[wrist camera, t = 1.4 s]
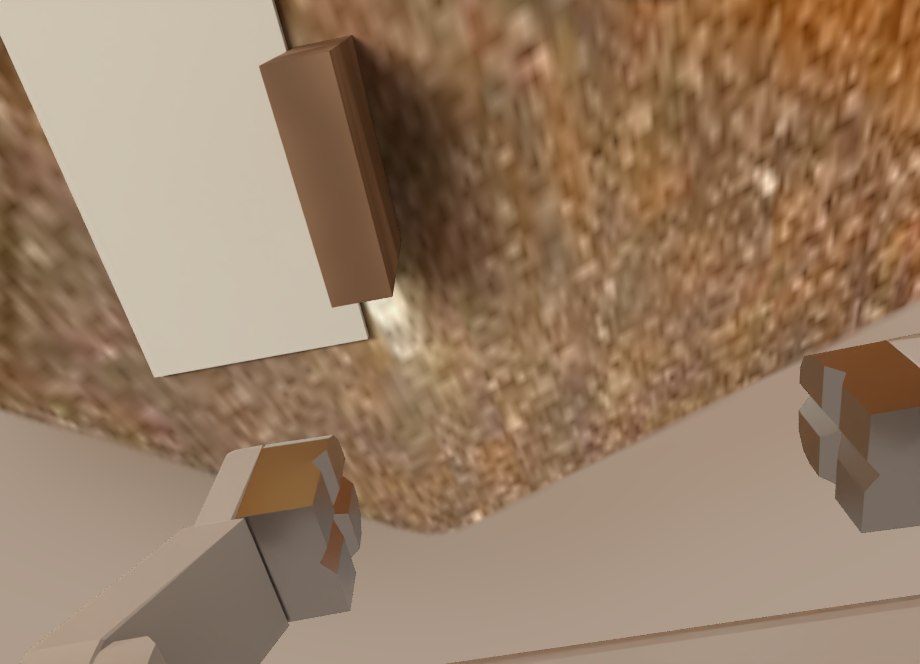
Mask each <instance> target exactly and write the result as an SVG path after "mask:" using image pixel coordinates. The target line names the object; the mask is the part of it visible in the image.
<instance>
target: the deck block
mask: <svg viewBox="0 0 920 664" xmlns="http://www.w3.org/2000/svg"><path fill="white" fill-rule="evenodd" d="M259 68H260V72H261V75H262V78H263V82H264V85H265V88H266V92H267V95H268V98H269V102H270V105H271V108H272V111H273V115H274V118H275V121H276V125H277V128H278V131H279V135H280V138H281V141H282V144H283V148H284V151H285V154H286V158H287V161H288V164H289V168H290V171H291V174H292V177H293V181H294V184H295V187H296V191H297V194H298V197H299V201H300V204H301V207H302V211H303V214H304V217H305V220H306V224H307V227H308V230H309V234H310V237H311V240H312V244H313V247H314V250H315V253H316V257H317V260H318V263H319V267H320V270H321V273H322V277H323V280H324V283H325V286H326V290H327V293H328V296H329V300H330V303H331V306H332V308H334V307H339V306H344V305H350V304H355V303H361V302H366V301H371V300H377V299H382V298H388V297H392V296H393V290H394V284H395V277H396V271H397V265H398V259H399V253H400V246H401V236H400V232H399V228H398V224H397V219H396V215H395V211H394V207H393V203H392V199H391V195H390V191H389V186H388V182H387V178H386V174H385V170H384V166H383V162H382V158H381V153H380V149H379V145H378V141H377V137H376V133H375V129H374V125H373V120H372V116H371V112H370V108H369V104H368V100H367V96H366V92H365V87H364V83H363V79H362V75H361V71H360V67H359V63H358V59H357V54H356V50H355V46H354V42H353V38H352V35H350V36H345V37H341V38H336V39H331V40H326V41H322V42H317V43H312V44H308V45H303V46H298V47H294V48H292V49H291V50H289V51H287V52H285V53H283V54H281V55H279V56H277V57H275V58H273V59H271V60H269V61H267V62H265V63H263V64H262V65H260V66H259Z"/></svg>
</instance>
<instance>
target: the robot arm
mask: <svg viewBox="0 0 920 664" xmlns="http://www.w3.org/2000/svg"><path fill="white" fill-rule="evenodd" d="M800 384H801V385H802V386H803V388H804V389H805V390H806V391H807V392H808V394H809V395H810V397H809V398H808V399H807V400H806V402H805V403H804V404H803V406H802V407H801V408H800V410H799V433H800V438H801V442H802V446H803V450H804V452H805V454H806V457H807V459H808V461H809V463H810V464H811V466H812V467H813V469H814V470H815V471H816V473H817V474H818V476H820V477H822V478H824V479H826V480H829V481H831V482H833V483H835V484H836V490H835V499H836V500H837V501H838V503H839V504H840V505H841V507H842V508H843V509H844V511H845V512H846V513H847V515H848V516H849V517H850V519H851V520H852V521H853V523H854V524H855V525H856V526H857V528H858V529H859V531H860V532H861V533H866V532H874V531H881V530H889V529H897V528H905V527H913V526H920V334H914V335H909V336H904V337H899V338H894V339H889V340H884V341H880V342H876V343H871V344H866V345H861V346H856V347H850V348H845V349H839V350H834V351H829V352H824V353H819V354H813V355H808V356H804V358H803V361H802V364H801V367H800ZM344 463H345V457H344V454H343V451H342V448H341V446H340V443H339V440H338V439H337V438H336V437H335V436H334V435H329V436H322V437H315V438H309V439H302V440H295V441H288V442H282V443H275V444H268V445H266V446H265V445H260V446H255V447H249V448H244V449H238V450H233V451H232V452H230V453H228V454H227V455H226V457H225V459H224V461H223V464H222V466H221V468H220V470H219V472H218V474H217V477H216V479H215V481H214V484H213V485H212V488H211V490H210V492H209V494H208V496H207V499H206V501H205V503H204V505H203V507H202V510H201V512H200V514H199V516H198V518H197V520H196V523H195V525H194V526H192V527H186V528H183V529H181V530H180V531H179V532H178V533H176V534H175V535H174V536H172V537H171V538H170V539H169V540H167V541H166V542H165V543H164V544H162V545H161V546H160V547H159V548H157V549H156V550H155V551H153V552H152V553H151V554H150V555H148V557H146V558H145V559H143V560H142V561H141V562H139V563H138V564H137V565H136V566H135V567H133V568H132V569H131V570H129V571H128V572H127V573H126V574H125V575H123V576H122V577H121V578H119V579H118V580H117V581H116V582H114V583H113V584H112V585H110V586H109V587H108V588H107V589H105V590H104V591H103V592H102V593H100V594H99V595H98V596H97V597H95V598H94V599H93V600H91V601H90V602H89V603H88V604H86V605H85V606H84V607H83V608H81V609H80V610H79V611H77V612H76V613H75V614H74V615H73V616H71V617H70V618H69V619H67V620H66V621H65V622H64V623H62V624H61V625H60V626H59V627H57V628H56V629H55V630H54V631H52V632H51V633H50V634H48V635H47V636H46V637H45V638H43V639H42V640H41V641H40V642H39V643H37V644H36V645H35V646H33V647H32V648H31V649H30V650H28V651H27V652H26V654H25V655H24V657H23V659H22V660H21V662H20V663H19V664H260V663H261V662H262V660H263V659H264V658H265V656H266V655H267V654H268V653H269V651H270V650H271V648H272V647H273V646H274V645H275V643H276V642H277V641H278V639H279V638H280V637H281V635H282V634H283V633H284V631H285V630H286V629H287V628H288V626H289V624H288V622H292V621H297V620H303V619H308V618H314V617H319V616H324V615H330V614H335V613H341V612H347V611H350V608H351V602H352V596H353V589H354V583H355V576H356V571H355V568H354V565H353V562H352V559H351V557H352V556H353V555H354V554H355V553H356V552H357V551H358V550H359V548H360V541H361V513H360V508H359V503H358V498H357V494H356V491H355V488H354V485H353V483H352V482H350V481H349V480H348V479H346V478H345V477H343V476H342V473H343V468H344ZM448 664H920V595H913V596H907V597H900V598H893V599H886V600H879V601H872V602H865V603H858V604H851V605H845V606H838V607H831V608H824V609H817V610H810V611H803V612H796V613H789V614H783V615H776V616H769V617H762V618H755V619H749V620H741V621H735V622H728V623H721V624H715V625H708V626H701V627H694V628H687V629H680V630H674V631H667V632H660V633H653V634H647V635H641V636H633V637H627V638H620V639H613V640H606V641H599V642H593V643H586V644H579V645H572V646H566V647H559V648H551V649H545V650H538V651H531V652H524V653H517V654H510V655H504V656H497V657H490V658H483V659H476V660H469V661H463V662H455V663H448Z"/></svg>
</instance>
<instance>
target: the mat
mask: <svg viewBox="0 0 920 664" xmlns="http://www.w3.org/2000/svg"><path fill="white" fill-rule="evenodd" d="M0 35H1V38H2V40H3V42H4V44H5V46H6V49H7V51H8V53H9V55H10V58H11V60H12V62H13V64H14V66H15V69H16V71H17V73H18V75H19V78H20V80H21V82H22V84H23V86H24V89H25V91H26V93H27V95H28V98H29V100H30V102H31V104H32V106H33V109H34V111H35V113H36V115H37V118H38V120H39V122H40V124H41V126H42V129H43V131H44V133H45V135H46V138H47V140H48V142H49V144H50V146H51V149H52V151H53V153H54V155H55V158H56V160H57V162H58V164H59V166H60V169H61V171H62V173H63V175H64V178H65V180H66V182H67V184H68V186H69V189H70V191H71V193H72V195H73V198H74V200H75V202H76V204H77V206H78V209H79V211H80V213H81V215H82V218H83V220H84V222H85V224H86V226H87V229H88V231H89V233H90V235H91V238H92V240H93V242H94V244H95V246H96V249H97V251H98V253H99V255H100V258H101V260H102V262H103V264H104V266H105V269H106V271H107V273H108V275H109V278H110V280H111V282H112V284H113V286H114V289H115V291H116V293H117V295H118V298H119V300H120V302H121V304H122V306H123V309H124V311H125V313H126V315H127V318H128V320H129V322H130V324H131V326H132V329H133V331H134V333H135V335H136V338H137V340H138V342H139V344H140V346H141V349H142V351H143V353H144V355H145V358H146V360H147V362H148V364H149V366H150V369H151V371H152V373H153V375H154V378H155V377H160V376H166V375H171V374H177V373H182V372H188V371H194V370H199V369H205V368H210V367H216V366H221V365H227V364H232V363H238V362H243V361H249V360H254V359H260V358H265V357H271V356H276V355H282V354H288V353H293V352H299V351H304V350H310V349H315V348H321V347H326V346H332V345H337V344H343V343H348V342H354V341H359V340H365V339H368V336H369V334H368V331H367V327H366V324H365V320H364V317H363V313H362V310H361V306H360V303H355V304H350V305H344V306H339V307H334V308H332V306H331V303H330V300H329V296H328V293H327V290H326V286H325V283H324V280H323V277H322V273H321V270H320V267H319V263H318V260H317V257H316V253H315V250H314V247H313V244H312V240H311V237H310V234H309V230H308V227H307V224H306V220H305V217H304V214H303V211H302V207H301V204H300V201H299V197H298V194H297V191H296V187H295V184H294V181H293V177H292V174H291V171H290V168H289V164H288V161H287V158H286V154H285V151H284V148H283V144H282V141H281V138H280V135H279V131H278V128H277V125H276V121H275V118H274V115H273V111H272V108H271V105H270V102H269V98H268V95H267V92H266V88H265V85H264V82H263V78H262V75H261V72H260V68H259V66H260V65H262V64H263V63H265V62H267V61H269V60H271V59H273V58H275V57H277V56H279V55H281V54H283V53H285V52H287V51H288V47H287V44H286V40H285V37H284V33H283V30H282V26H281V23H280V19H279V16H278V12H277V8H276V5H275V1H274V0H0Z"/></svg>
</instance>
